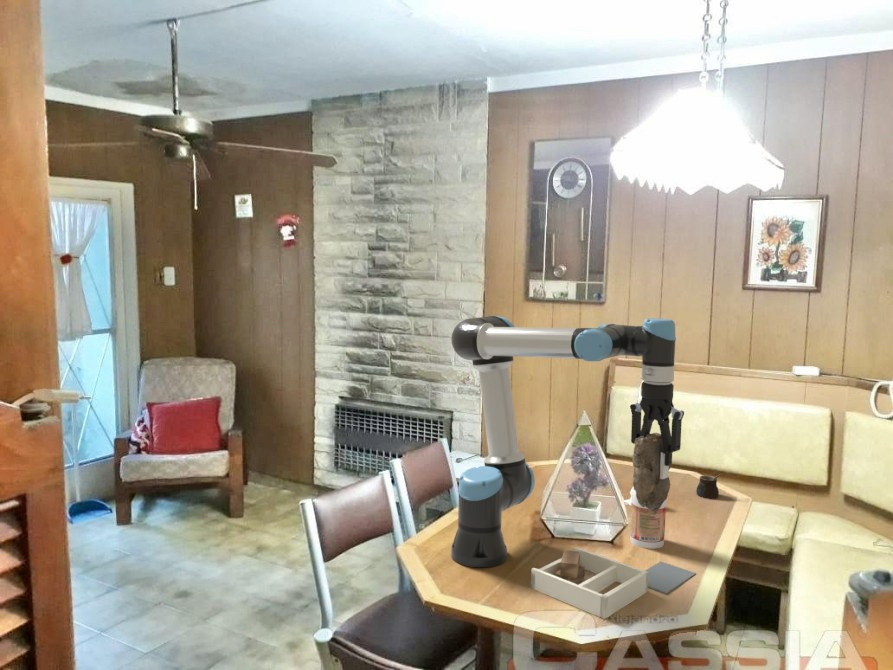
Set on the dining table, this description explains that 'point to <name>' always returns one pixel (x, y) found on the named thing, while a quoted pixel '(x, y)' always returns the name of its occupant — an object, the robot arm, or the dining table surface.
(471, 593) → the dining table surface
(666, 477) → the robot arm
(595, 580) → the tray
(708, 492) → the mate gourd
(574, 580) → the offcut block lower
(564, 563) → the offcut block upper
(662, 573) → the mat
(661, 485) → the brown rock
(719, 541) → the dining table surface
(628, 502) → the white creature statuette
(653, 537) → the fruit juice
